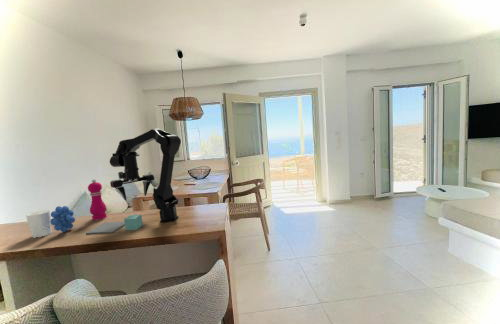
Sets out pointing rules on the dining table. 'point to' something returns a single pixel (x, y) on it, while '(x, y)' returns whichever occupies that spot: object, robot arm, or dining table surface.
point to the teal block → (133, 222)
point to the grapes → (62, 218)
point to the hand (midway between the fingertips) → (135, 197)
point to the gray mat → (107, 228)
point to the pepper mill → (97, 201)
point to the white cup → (39, 223)
